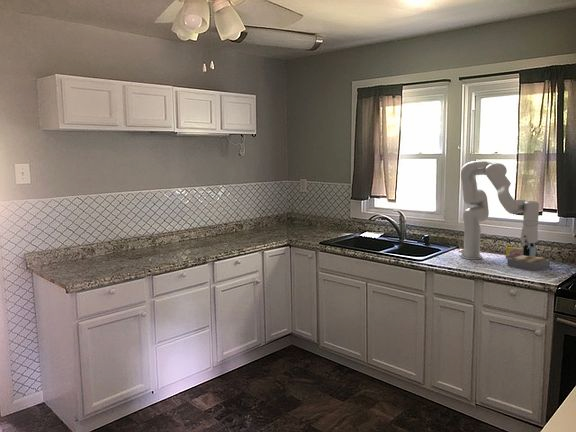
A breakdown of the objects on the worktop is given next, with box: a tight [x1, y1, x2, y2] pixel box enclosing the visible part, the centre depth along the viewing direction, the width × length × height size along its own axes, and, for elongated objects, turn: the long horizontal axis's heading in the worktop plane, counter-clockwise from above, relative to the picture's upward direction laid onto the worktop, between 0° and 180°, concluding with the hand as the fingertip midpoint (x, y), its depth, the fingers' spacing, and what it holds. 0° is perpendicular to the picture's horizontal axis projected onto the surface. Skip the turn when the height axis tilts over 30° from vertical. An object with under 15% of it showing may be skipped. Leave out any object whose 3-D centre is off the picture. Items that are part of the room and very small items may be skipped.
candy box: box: [505, 246, 523, 260], centre depth 297 cm, size 16×2×8 cm, turn 47°
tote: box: [507, 258, 551, 272], centre depth 281 cm, size 16×16×5 cm
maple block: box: [513, 255, 546, 263], centre depth 280 cm, size 12×12×5 cm
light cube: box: [522, 245, 537, 257], centre depth 280 cm, size 5×5×5 cm
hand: (528, 254), depth 280 cm, fingers closed on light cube, 4 cm apart
